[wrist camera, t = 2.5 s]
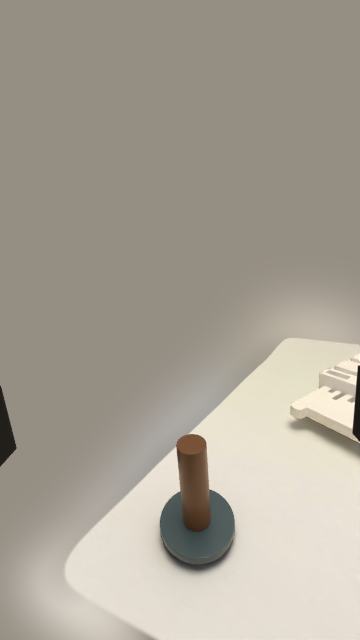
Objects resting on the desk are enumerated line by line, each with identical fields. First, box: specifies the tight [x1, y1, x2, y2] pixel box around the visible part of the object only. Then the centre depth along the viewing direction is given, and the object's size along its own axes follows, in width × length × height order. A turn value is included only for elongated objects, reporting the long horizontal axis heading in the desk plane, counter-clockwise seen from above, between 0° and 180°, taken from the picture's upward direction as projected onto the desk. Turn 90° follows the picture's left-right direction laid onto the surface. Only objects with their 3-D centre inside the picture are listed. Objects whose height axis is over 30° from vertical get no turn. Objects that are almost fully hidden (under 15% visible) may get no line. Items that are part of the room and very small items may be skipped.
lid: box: [160, 434, 235, 564], centre depth 23 cm, size 6×6×9 cm
